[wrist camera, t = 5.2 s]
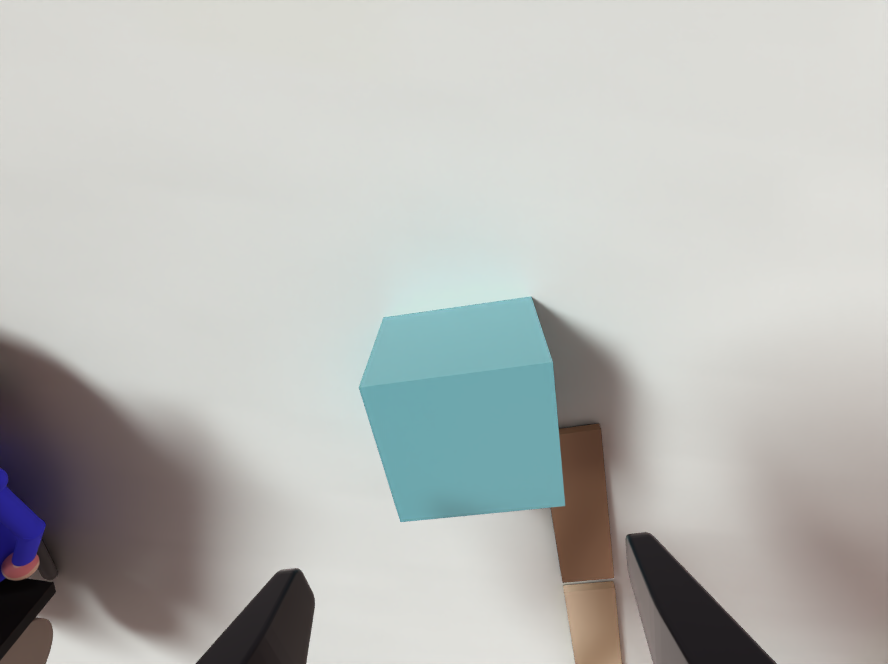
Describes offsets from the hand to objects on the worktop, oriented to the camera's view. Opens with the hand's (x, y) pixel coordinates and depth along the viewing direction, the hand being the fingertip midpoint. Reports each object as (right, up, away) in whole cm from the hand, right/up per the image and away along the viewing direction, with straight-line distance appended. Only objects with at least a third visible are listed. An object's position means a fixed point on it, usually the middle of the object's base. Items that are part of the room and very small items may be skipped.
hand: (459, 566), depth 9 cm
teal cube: (0, +4, +7) cm, 8 cm away
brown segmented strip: (+6, -9, +12) cm, 16 cm away
